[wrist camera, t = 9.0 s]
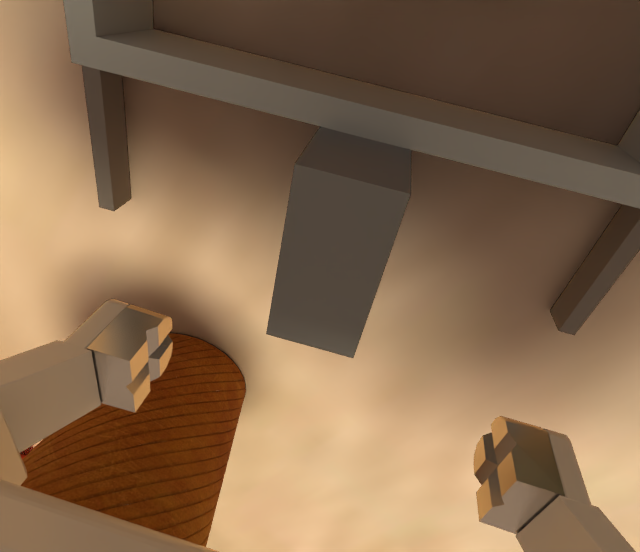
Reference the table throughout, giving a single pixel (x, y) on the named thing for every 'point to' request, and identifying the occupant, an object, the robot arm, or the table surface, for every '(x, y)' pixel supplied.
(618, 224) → the lane rails
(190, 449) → the disposable coffee cup
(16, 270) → the table surface
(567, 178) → the grey open rectangular tray
